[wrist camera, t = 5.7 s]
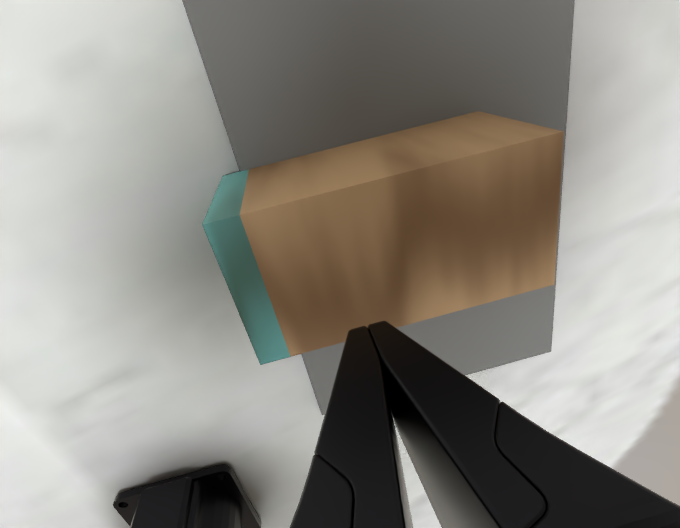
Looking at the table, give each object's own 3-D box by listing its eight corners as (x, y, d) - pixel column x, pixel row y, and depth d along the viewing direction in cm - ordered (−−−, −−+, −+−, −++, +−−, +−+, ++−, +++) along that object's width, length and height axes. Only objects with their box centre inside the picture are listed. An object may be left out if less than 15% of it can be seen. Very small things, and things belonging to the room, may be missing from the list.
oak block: (263, 286, 17) (482, 228, 17) (260, 365, 13) (554, 284, 13) (222, 175, 15) (478, 111, 15) (202, 224, 10) (563, 131, 11)
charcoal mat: (547, 348, 22) (551, 351, 22) (321, 410, 21) (321, 414, 21) (576, -132, 12) (583, -136, 12) (170, -40, 12) (168, -42, 12)
